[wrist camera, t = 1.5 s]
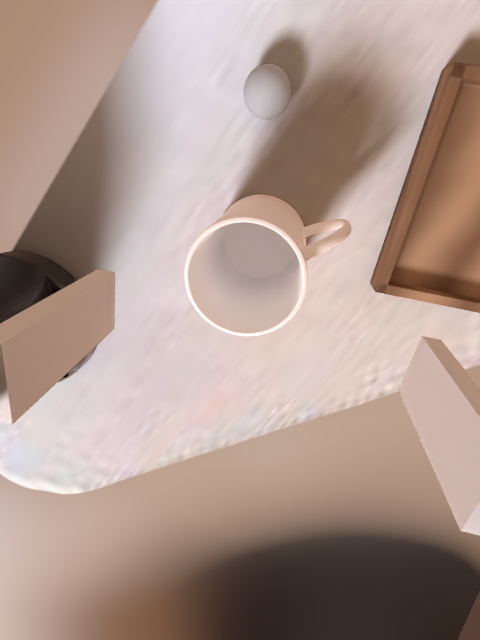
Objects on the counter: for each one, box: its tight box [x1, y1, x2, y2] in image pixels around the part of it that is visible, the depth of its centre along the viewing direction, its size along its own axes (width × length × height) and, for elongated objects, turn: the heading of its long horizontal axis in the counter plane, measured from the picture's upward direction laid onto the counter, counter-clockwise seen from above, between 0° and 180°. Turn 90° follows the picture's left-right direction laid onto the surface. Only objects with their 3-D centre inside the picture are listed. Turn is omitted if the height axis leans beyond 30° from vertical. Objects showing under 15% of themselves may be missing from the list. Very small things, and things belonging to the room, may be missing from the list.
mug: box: [184, 195, 351, 336], centre depth 28 cm, size 12×8×12 cm
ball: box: [244, 64, 291, 119], centre depth 28 cm, size 4×4×4 cm
